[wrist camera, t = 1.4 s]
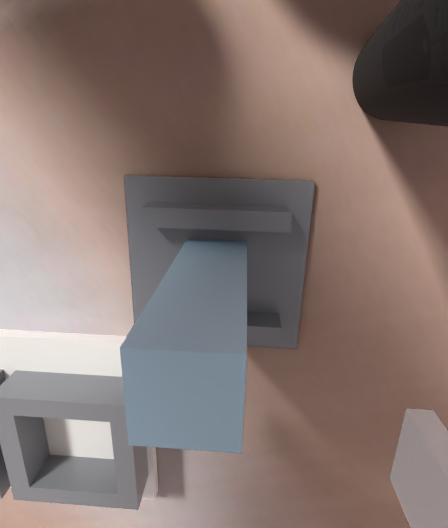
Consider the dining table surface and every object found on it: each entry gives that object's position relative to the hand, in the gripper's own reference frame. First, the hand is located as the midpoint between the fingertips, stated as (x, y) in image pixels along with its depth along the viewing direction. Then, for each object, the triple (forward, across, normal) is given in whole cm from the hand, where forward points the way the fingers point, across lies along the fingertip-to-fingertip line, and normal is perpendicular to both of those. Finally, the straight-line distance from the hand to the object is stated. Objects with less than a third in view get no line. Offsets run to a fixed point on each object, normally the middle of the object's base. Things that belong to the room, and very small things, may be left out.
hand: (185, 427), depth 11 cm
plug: (+14, 0, 0) cm, 14 cm away
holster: (+14, 0, 0) cm, 14 cm away
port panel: (+14, -16, -14) cm, 26 cm away
